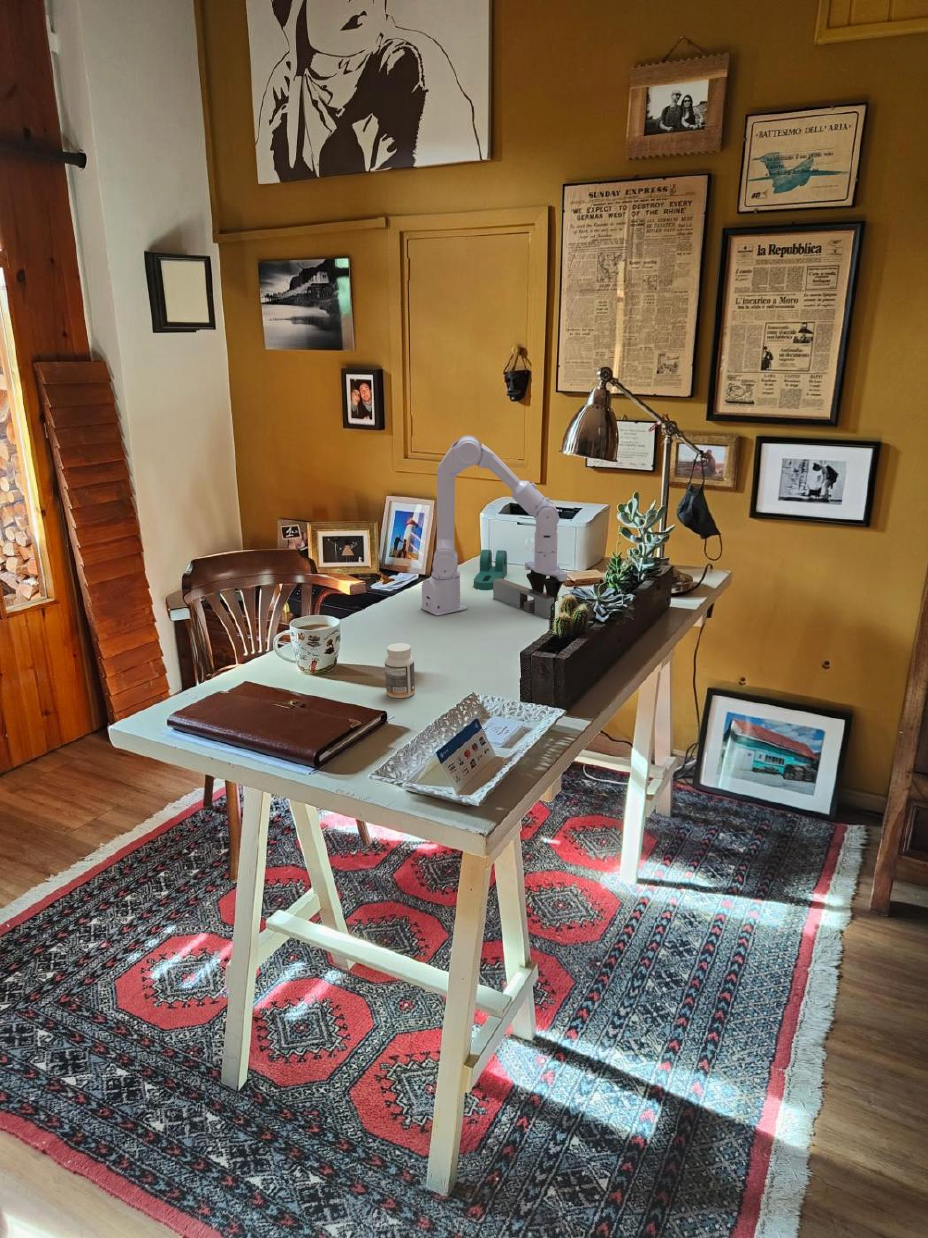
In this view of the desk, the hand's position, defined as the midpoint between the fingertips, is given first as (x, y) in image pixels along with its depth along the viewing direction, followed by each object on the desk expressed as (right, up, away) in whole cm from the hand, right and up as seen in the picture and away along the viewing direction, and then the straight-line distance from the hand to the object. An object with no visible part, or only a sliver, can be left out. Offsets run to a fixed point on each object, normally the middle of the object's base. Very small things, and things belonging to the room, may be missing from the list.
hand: (545, 602), depth 228 cm
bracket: (-14, +6, +25) cm, 29 cm away
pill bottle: (-33, -19, -52) cm, 65 cm away
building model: (-6, -1, +1) cm, 6 cm away
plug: (-1, -2, -1) cm, 2 cm away
